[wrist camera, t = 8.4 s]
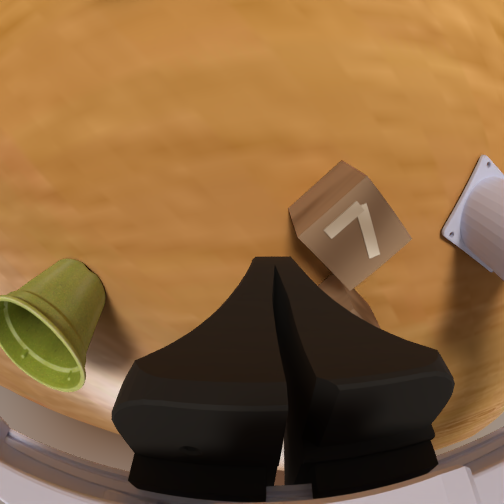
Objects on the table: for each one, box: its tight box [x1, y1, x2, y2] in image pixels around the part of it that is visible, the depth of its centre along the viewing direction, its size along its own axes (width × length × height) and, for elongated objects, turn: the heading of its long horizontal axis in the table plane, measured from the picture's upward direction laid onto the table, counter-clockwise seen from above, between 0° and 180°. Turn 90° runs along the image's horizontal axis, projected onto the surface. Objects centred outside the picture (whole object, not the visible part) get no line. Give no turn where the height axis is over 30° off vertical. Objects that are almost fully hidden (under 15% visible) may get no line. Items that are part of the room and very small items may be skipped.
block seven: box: [288, 160, 412, 291], centre depth 18 cm, size 5×5×5 cm
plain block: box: [318, 274, 381, 329], centre depth 22 cm, size 5×5×5 cm
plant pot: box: [0, 259, 105, 392], centre depth 20 cm, size 9×9×9 cm
